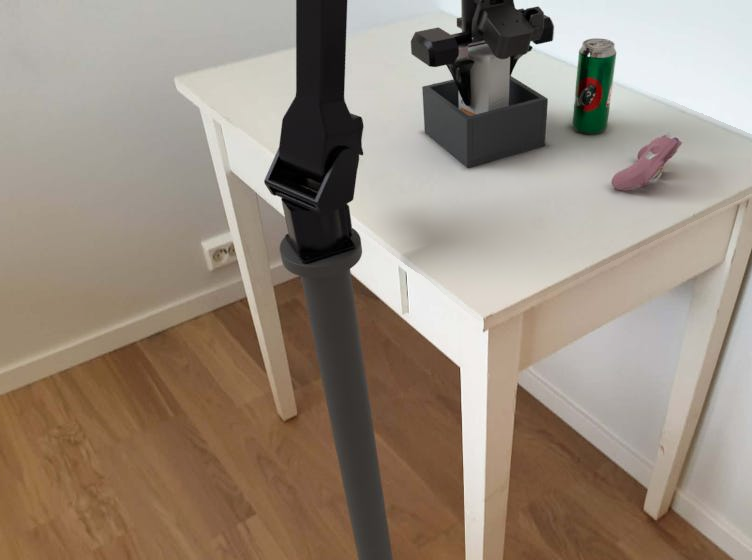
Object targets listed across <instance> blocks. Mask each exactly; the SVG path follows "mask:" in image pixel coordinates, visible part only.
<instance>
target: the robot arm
mask: <svg viewBox="0 0 752 560" xmlns="http://www.w3.org/2000/svg"><path fill="white" fill-rule="evenodd" d="M460 2H461V4H460V7H461V9H460V11H461V17H457V18H456V27H457V28H459V29H460V30H461V32H457V33H452V34H450V33H449V32H447V31H446V30H444V29H442V28H440V27H433V28H428V29H423V30H418V31H415V32H414V34H413V36H412V37H411V39H410V52H411V55H412V56H413V57H415V58H416V59H418V60H419V61H420V62H422V63H423V64H425V65H426V66H428V67H430V68H438V67H442V66H446V67H447V69H448V71H449V73H450V76H451V78H452V80H453V79H454V81H455V84H456V86H457V88H458V91H459V93H460V95H461V98H462V100H463V102H464V104H465V105H466V106H470V103H471V78H470V70H471V68H472V66H473V64H474V61H473V60H472V59H470V58H468V48H469V47H474V46H478V45H483V44H487V45H488V46H489V47H490V49H491V50H492V52H493V54H494V56H495V57H497V58H499V59H507V58H509V57H510V77H511V76H512V73H513V71H514V70H515V67H516V65H517V63H518V61H519V59H520V58H522V57H523V56H524V55H526V54H529V53H530V52H531V51H532V50H533V46H532V45H531V42H532V44H535V45H542V44H545V43H550V42H553V41H554V37H555V36H554V35H555V25H554V22H553V20H552V18H551V17H550V16H548V15H545V12H544V11H543V10H542V8H541V7H540V6H533V7H527V8H526V9H524V8H518V9H517V8H516V5H515V0H460ZM347 21H348V0H295V26H296V27H295V38H296V39H295V50H296V51H295V95H294V98H293V100H292V102H291V103H290V104H289V107H288V108H287V110H286V112H285V114H284V115H283V117H282V119H281V121H282V122H281V128H280V137H279V145H278V148H277V150H276V153H275V155H274V157H273V159H272V162H271V164H270V166H269V168H268V171H267V173H266V175H265V177H264V180H263V183H264V186H265V187H266V188H267V190H268V191H269V193H270V195H272V196H274V197H275V196H277V197H279V198H280V200H281V205H282V210H283V215H284V218H285V223H286V228H287V229H286V230H287V233H286V234H285V235H284V237H285V238H286V241H287V242H288V243H289V245H290V246H291V248H292V249H293V251H294V252H295V253H296V255H297V256H298V258H299V259H300V261H301V262H302V263H303V264H309V263H312V262H315V261H318V260H322V259H325V258H328V257H331V256H334V255H338V254H341V253H344V252H347V251H350V250H353V249H355V243H354V242H353V241H352V240H351V238H350V237H352V235H353V231H352V228H353V225H352V216H351V210H350V206H349V203H351V202H353V201H354V199H355V191H356V183H357V176H358V175H357V174H358V169H359V163H360V156H363V155H364V149H363V144H362V143H363V142H362V141H363V132H364V127H365V126H364V120H363V117H362V116H360V115H357V114H353V113H351V112H350V110H349V107H348V106H347V103H346V100H345V86H346V85H345V84H346V58H347V57H346V56H347V55H346V53H347V52H346V51H347V28H348V27H347V26H348V25H347V23H348V22H347ZM509 79H510V78H509Z"/></svg>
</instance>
